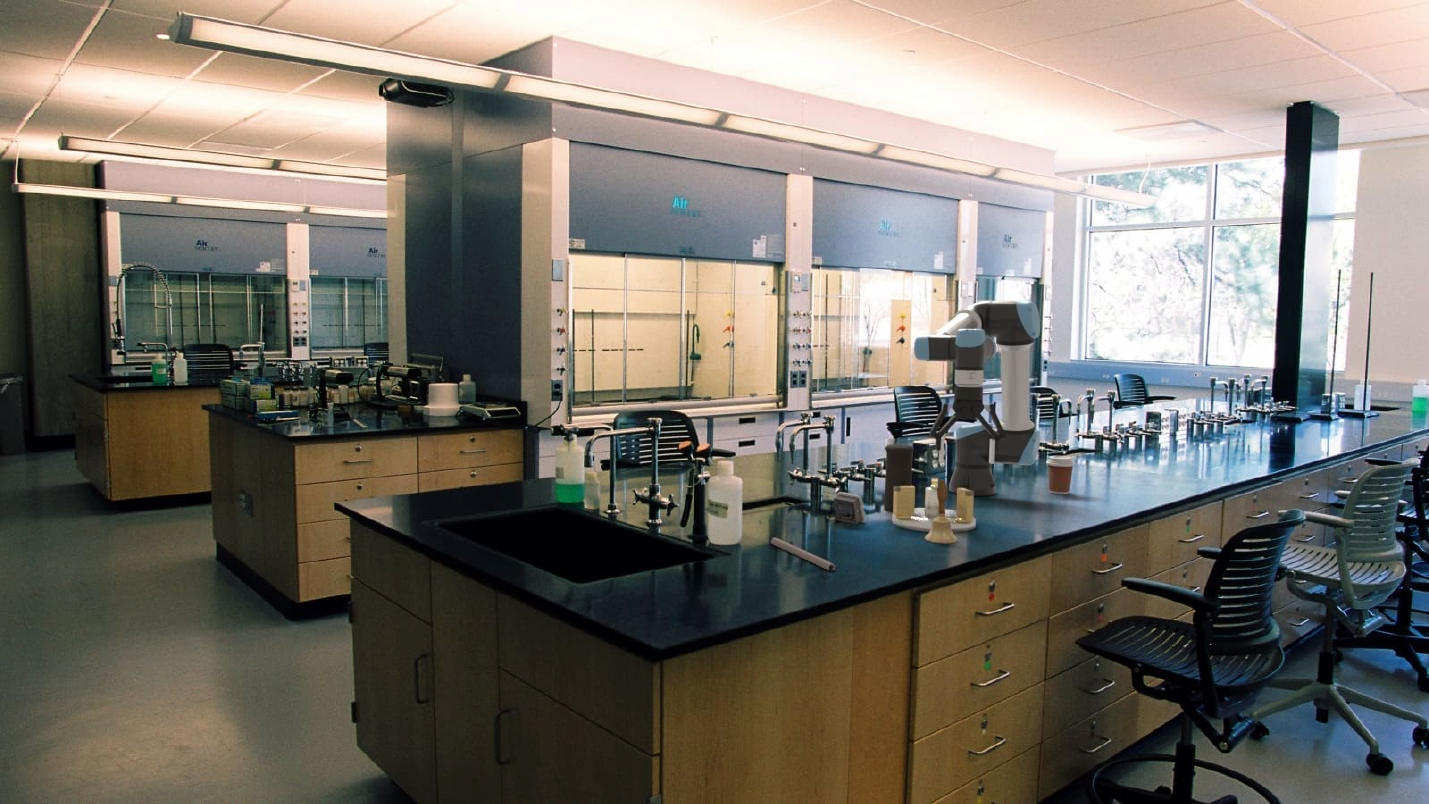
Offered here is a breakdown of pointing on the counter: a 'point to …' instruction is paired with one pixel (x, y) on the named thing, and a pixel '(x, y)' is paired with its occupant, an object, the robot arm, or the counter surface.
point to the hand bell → (941, 520)
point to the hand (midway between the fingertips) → (966, 462)
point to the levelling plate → (928, 522)
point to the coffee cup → (1060, 474)
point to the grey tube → (802, 554)
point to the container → (897, 470)
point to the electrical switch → (849, 508)
